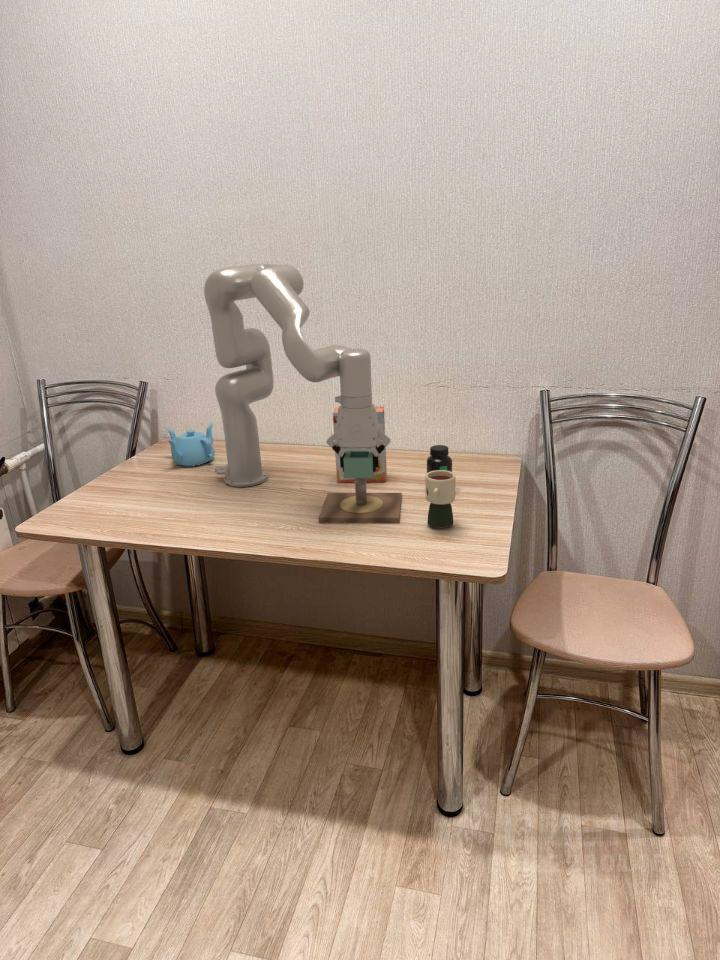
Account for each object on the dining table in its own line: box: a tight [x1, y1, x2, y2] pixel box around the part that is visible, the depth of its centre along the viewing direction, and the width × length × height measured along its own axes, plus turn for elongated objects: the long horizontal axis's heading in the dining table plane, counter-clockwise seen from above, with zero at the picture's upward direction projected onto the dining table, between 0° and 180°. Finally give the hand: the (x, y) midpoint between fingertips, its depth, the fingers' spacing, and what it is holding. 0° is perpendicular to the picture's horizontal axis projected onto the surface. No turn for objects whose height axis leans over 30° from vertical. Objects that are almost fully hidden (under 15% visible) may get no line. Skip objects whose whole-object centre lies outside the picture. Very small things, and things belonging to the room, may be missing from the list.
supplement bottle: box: [426, 444, 453, 474], centre depth 187 cm, size 7×7×12 cm
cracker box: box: [332, 405, 388, 483], centre depth 195 cm, size 14×6×21 cm, turn 84°
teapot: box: [165, 422, 216, 467], centre depth 218 cm, size 15×15×10 cm
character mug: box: [424, 470, 456, 529], centre depth 165 cm, size 11×7×13 cm, turn 159°
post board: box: [318, 478, 403, 524], centre depth 176 cm, size 20×16×13 cm
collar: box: [343, 450, 374, 478], centre depth 173 cm, size 7×7×5 cm
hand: (359, 469), depth 174 cm, fingers closed on collar, 6 cm apart
